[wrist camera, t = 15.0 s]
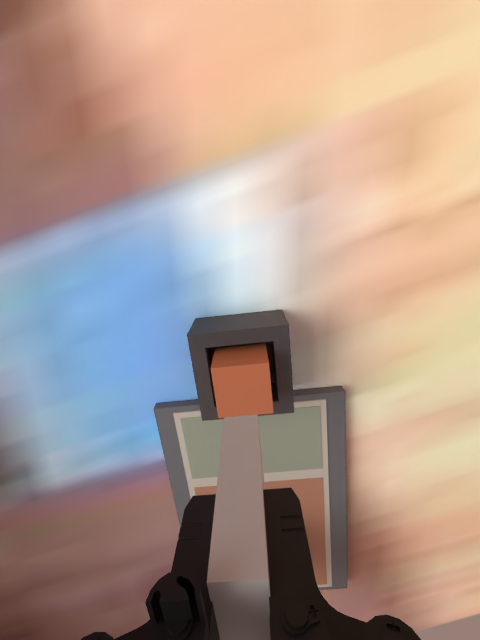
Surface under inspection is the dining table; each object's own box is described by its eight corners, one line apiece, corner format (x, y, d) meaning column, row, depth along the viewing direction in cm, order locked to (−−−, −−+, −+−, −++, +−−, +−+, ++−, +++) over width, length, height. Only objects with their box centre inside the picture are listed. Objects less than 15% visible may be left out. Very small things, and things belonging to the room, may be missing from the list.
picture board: (197, 588, 31) (196, 599, 30) (156, 403, 25) (152, 410, 24) (344, 578, 31) (347, 590, 30) (342, 386, 24) (346, 392, 23)
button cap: (221, 392, 22) (218, 418, 19) (215, 348, 20) (210, 368, 18) (269, 387, 21) (273, 413, 18) (265, 343, 20) (268, 362, 17)
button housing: (207, 394, 24) (202, 420, 21) (195, 318, 23) (187, 334, 19) (287, 386, 24) (294, 412, 21) (281, 309, 22) (288, 324, 19)
